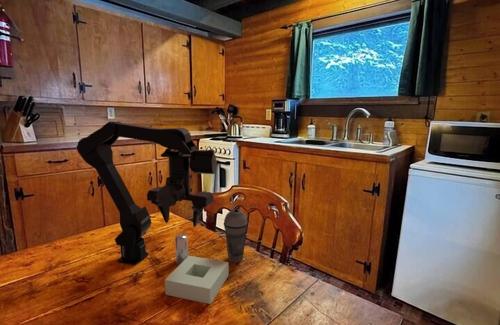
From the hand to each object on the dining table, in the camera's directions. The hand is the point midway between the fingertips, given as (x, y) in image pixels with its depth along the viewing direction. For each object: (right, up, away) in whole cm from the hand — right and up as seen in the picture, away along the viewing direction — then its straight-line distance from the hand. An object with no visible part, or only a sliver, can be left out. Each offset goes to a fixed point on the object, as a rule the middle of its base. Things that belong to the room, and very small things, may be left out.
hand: (180, 224), depth 81 cm
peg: (0, -12, +2) cm, 12 cm away
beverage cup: (+16, -12, +4) cm, 20 cm away
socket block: (+7, -14, -9) cm, 18 cm away
